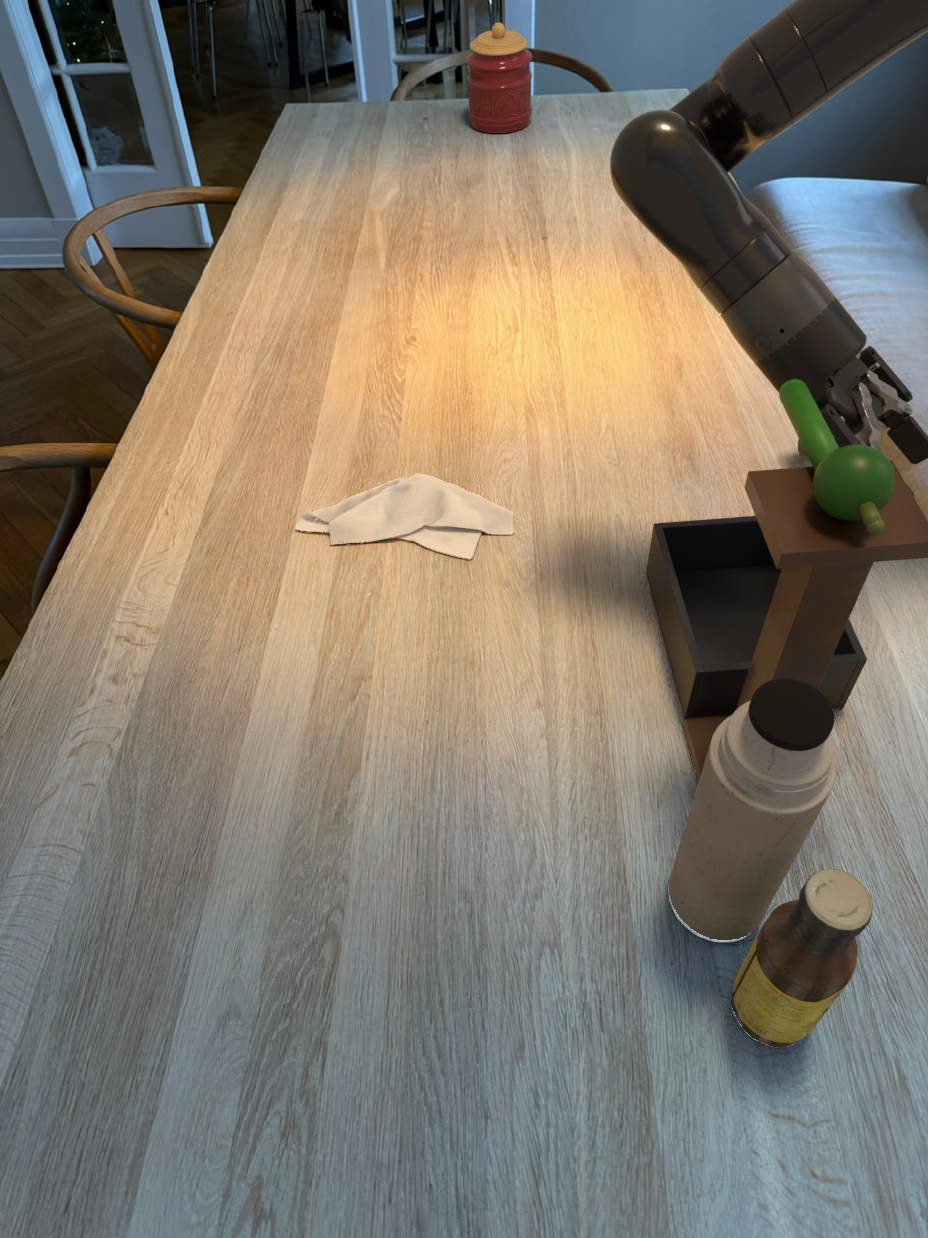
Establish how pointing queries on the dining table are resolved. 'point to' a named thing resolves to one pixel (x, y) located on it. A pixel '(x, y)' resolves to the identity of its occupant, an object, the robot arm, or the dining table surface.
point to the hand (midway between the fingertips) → (914, 480)
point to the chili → (839, 464)
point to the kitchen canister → (499, 81)
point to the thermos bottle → (753, 808)
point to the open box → (724, 612)
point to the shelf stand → (812, 579)
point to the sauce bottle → (801, 959)
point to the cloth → (413, 516)
